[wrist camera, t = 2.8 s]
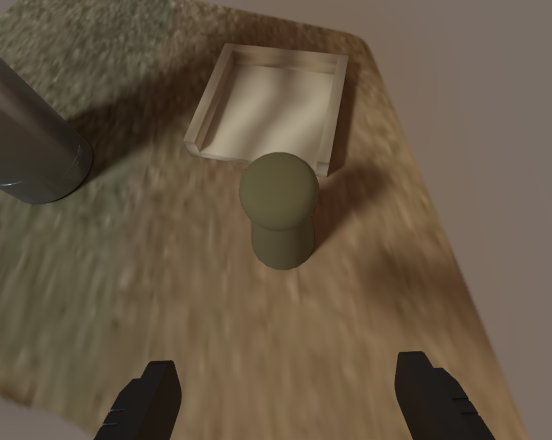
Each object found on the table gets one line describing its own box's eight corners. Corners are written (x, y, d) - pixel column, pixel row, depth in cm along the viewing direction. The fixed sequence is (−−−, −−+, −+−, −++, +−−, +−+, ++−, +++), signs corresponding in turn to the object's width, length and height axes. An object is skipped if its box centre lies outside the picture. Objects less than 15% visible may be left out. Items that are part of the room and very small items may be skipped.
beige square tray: (191, 155, 31) (183, 140, 29) (229, 61, 37) (225, 42, 35) (326, 176, 29) (329, 163, 27) (344, 74, 35) (348, 55, 33)
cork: (239, 250, 27) (207, 195, 17) (271, 200, 29) (260, 123, 18) (296, 282, 25) (298, 243, 15) (325, 226, 27) (346, 159, 17)
